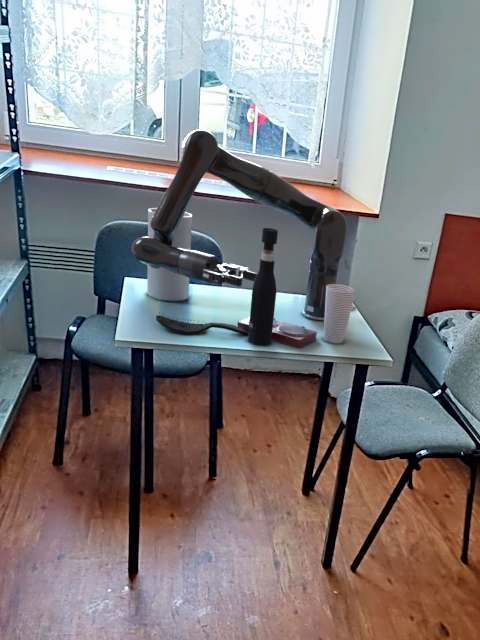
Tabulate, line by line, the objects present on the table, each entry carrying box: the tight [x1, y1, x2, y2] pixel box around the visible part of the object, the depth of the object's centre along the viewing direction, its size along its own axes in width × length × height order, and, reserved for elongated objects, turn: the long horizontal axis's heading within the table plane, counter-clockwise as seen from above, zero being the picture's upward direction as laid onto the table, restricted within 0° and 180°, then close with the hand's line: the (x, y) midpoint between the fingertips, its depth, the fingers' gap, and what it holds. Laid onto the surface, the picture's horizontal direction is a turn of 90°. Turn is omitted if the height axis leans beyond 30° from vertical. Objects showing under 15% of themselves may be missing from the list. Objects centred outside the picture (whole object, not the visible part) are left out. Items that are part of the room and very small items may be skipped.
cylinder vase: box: [146, 207, 193, 302], centre depth 200 cm, size 12×12×25 cm
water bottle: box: [247, 227, 279, 347], centre depth 175 cm, size 6×6×30 cm
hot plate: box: [237, 316, 318, 348], centre depth 190 cm, size 12×20×3 cm, turn 66°
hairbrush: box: [155, 311, 248, 336], centre depth 182 cm, size 8×4×25 cm
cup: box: [322, 283, 356, 344], centre depth 191 cm, size 8×8×16 cm
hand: (249, 280), depth 176 cm, fingers open, 8 cm apart
